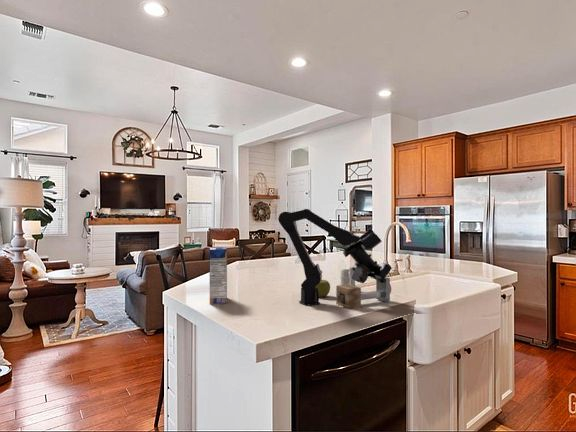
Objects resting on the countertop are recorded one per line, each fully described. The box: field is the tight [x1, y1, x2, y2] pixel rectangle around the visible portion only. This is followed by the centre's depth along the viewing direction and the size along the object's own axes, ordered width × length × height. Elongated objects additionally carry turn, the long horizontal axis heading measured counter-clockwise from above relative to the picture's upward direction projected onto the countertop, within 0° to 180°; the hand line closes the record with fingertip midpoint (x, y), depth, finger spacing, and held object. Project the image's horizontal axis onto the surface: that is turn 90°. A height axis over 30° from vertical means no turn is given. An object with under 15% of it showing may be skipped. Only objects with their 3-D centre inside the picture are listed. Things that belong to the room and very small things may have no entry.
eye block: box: [335, 284, 362, 309], centre depth 141 cm, size 6×8×8 cm
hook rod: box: [338, 276, 392, 303], centre depth 144 cm, size 24×6×10 cm, turn 116°
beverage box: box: [209, 246, 228, 305], centre depth 150 cm, size 7×11×22 cm, turn 11°
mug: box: [340, 266, 356, 286], centre depth 168 cm, size 8×12×12 cm, turn 5°
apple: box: [316, 279, 331, 298], centre depth 157 cm, size 8×8×7 cm
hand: (382, 282), depth 147 cm, fingers closed, pressing on hook rod
